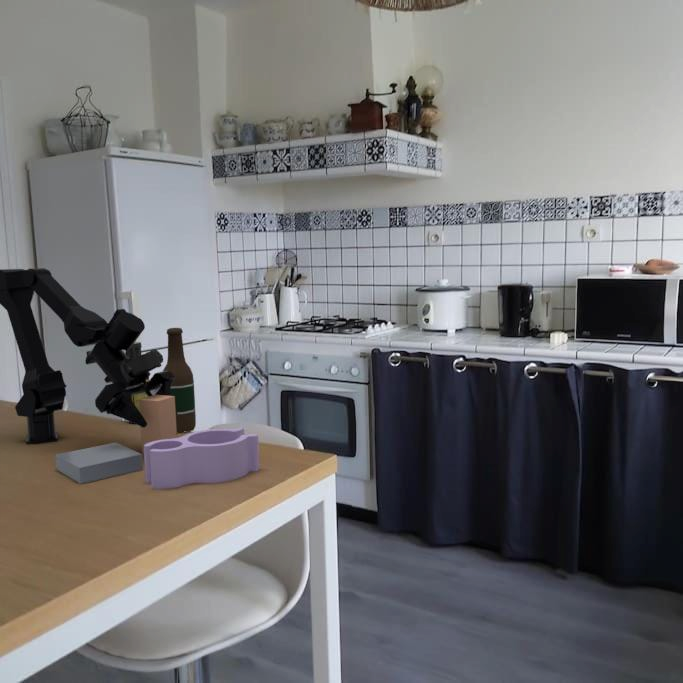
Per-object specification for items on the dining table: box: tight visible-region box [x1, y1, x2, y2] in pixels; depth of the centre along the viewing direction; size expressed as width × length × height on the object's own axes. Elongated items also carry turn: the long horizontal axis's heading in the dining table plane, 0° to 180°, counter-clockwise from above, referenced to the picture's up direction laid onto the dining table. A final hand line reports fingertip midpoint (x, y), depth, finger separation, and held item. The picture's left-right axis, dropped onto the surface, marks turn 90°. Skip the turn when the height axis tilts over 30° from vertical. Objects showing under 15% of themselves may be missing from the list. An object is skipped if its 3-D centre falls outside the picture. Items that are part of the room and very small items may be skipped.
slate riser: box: [55, 442, 144, 485], centre depth 132 cm, size 12×12×3 cm
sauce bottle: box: [124, 341, 150, 424], centre depth 171 cm, size 6×6×20 cm
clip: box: [143, 426, 260, 490], centre depth 128 cm, size 20×12×7 cm, turn 122°
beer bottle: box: [162, 327, 197, 434], centre depth 161 cm, size 8×8×24 cm
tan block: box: [139, 395, 178, 458], centre depth 141 cm, size 5×5×12 cm
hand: (161, 420), depth 140 cm, fingers open, 9 cm apart
